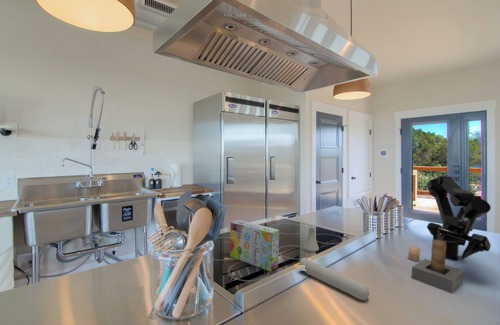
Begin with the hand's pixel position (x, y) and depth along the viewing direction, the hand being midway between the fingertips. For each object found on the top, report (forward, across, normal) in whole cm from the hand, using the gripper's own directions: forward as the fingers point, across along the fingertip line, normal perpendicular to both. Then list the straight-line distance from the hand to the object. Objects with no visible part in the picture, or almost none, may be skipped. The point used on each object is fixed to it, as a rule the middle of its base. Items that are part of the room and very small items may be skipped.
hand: (447, 253), depth 95 cm
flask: (+27, -40, -15) cm, 51 cm away
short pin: (+4, -14, +8) cm, 16 cm away
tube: (+37, -14, -25) cm, 47 cm away
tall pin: (+11, 0, +1) cm, 11 cm away
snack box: (+49, -40, -37) cm, 73 cm away
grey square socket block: (+11, 0, +1) cm, 11 cm away
